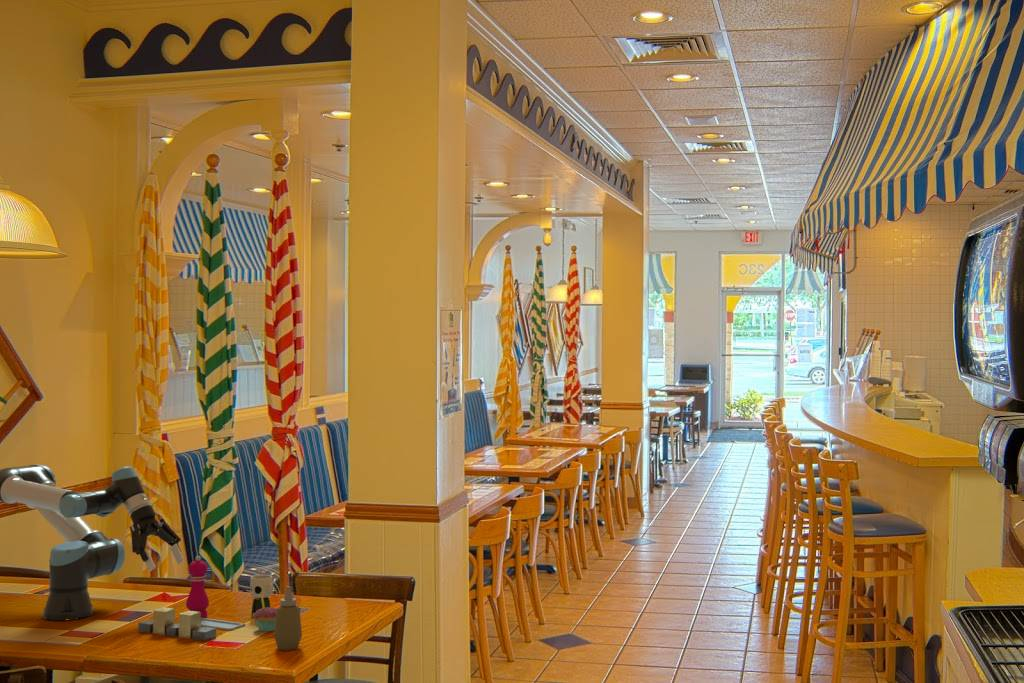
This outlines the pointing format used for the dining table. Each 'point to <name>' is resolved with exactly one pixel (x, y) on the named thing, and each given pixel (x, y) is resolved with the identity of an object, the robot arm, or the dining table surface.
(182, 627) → the beige rectangular block
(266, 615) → the cupcake
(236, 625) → the tray
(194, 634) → the gray notched bar
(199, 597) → the pepper mill
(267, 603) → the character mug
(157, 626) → the cream upright block
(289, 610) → the squeeze bottle
